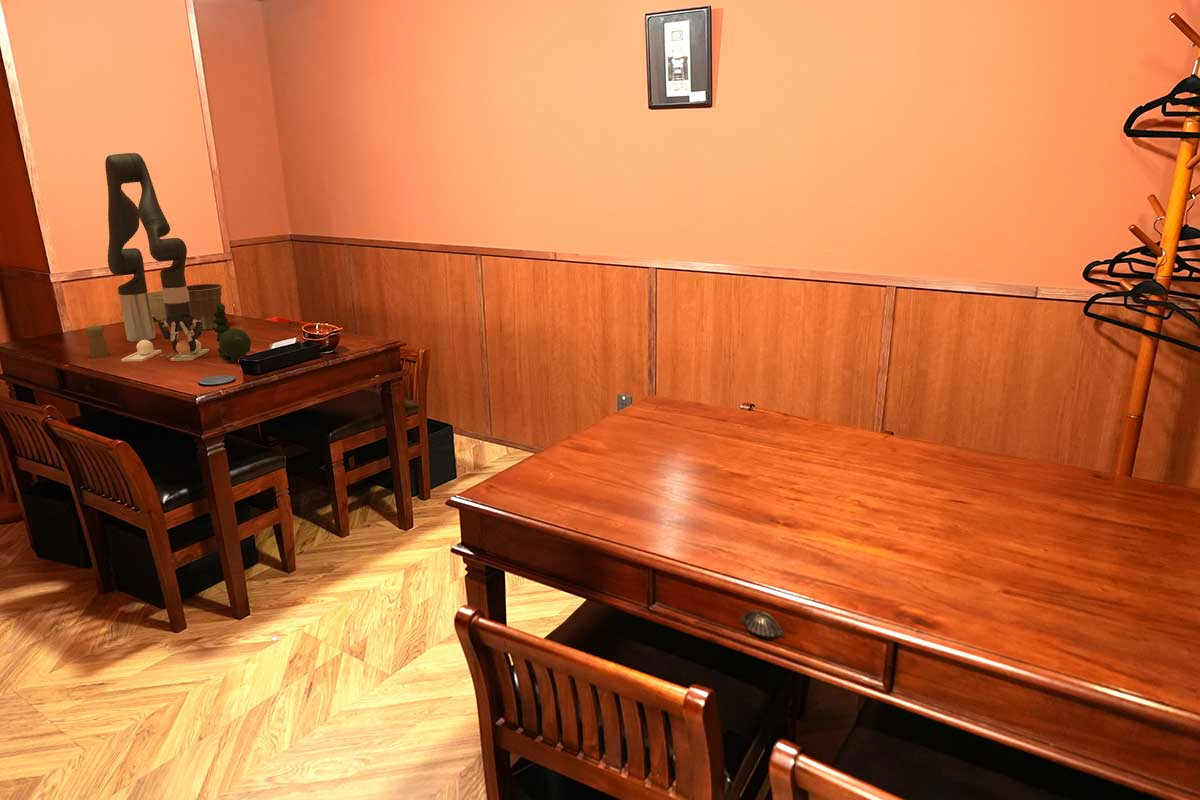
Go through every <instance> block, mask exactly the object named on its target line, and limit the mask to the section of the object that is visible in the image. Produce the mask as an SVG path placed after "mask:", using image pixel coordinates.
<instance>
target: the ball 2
mask: <svg viewBox="0 0 1200 800" xmlns="http://www.w3.org/2000/svg"><path fill="white" fill-rule="evenodd" d="M178 341H179V342H178V343H177V345H176V350H177V352H176V353H178V354H182V355H188V354H190V353H191V351H190V346H189V341H188V339H181V340H178Z"/></svg>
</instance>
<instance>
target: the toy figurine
mask: <svg viewBox="0 0 1200 800" xmlns="http://www.w3.org/2000/svg"><path fill="white" fill-rule="evenodd" d="M216 309H217V310H216V311H215V312H214V313H213V315H214V316H215V317H216V318H215V320H213V322H214V323H215V324H216V325H217V327H216V328H215V329H214V330H213V331H214V332H215V333H217V334H216V335H217V336H216V342H218V348H217V352H218V353H219V357H220V358H221V359H223V360H226V361H227V360H229V359H231V362H232V363H236V364H240V363H239V362H238V359H239V358H240V357H243V356H245V357H246V355H247V353H249V352H250V351H251V347H252V342H251V341H252V340H251V337H250V336H249V334H247V332H246V331H244V330H242V329H240V328H231V327H230V326H229V324H228V318H227V316H226V306H225V304H224V303H221V304H218V305H217V307H216Z"/></svg>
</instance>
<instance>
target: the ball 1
mask: <svg viewBox="0 0 1200 800" xmlns="http://www.w3.org/2000/svg"><path fill="white" fill-rule="evenodd" d="M137 342H138V343H137V344H136V351H137V352H139V353H141V354H144V355H147V354H150V353H151V352H152V351H153V350H154V345H153V343H152V342H151V340H141V341H137Z"/></svg>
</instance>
